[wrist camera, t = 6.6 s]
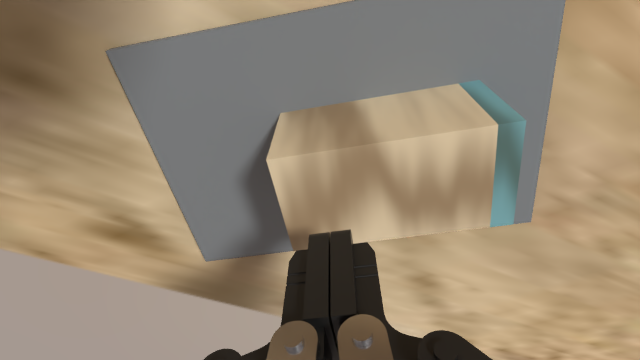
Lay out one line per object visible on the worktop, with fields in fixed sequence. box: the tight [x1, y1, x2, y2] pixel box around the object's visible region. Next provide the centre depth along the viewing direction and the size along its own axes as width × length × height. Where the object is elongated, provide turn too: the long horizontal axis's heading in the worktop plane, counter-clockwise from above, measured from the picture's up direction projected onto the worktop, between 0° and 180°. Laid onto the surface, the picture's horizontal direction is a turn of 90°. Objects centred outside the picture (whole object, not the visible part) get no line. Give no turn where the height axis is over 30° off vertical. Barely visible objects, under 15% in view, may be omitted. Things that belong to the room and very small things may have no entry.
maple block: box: [266, 80, 526, 251], centre depth 18 cm, size 5×5×10 cm
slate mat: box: [106, 0, 565, 261], centre depth 20 cm, size 14×21×1 cm, turn 100°
